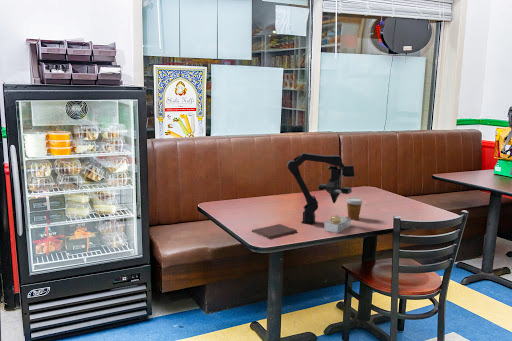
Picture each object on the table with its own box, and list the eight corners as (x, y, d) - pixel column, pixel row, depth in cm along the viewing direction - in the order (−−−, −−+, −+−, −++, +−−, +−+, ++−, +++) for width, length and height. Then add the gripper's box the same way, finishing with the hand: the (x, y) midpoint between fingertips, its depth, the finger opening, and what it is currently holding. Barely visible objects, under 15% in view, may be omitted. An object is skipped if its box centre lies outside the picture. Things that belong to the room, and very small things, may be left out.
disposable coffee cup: (343, 219, 289) (344, 200, 286) (347, 215, 297) (348, 196, 295) (359, 221, 285) (360, 202, 283) (362, 217, 293) (364, 198, 291)
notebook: (251, 232, 263) (251, 229, 262) (279, 226, 274) (279, 223, 274) (269, 240, 251) (269, 236, 251) (297, 233, 263) (297, 229, 262)
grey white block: (324, 230, 267) (324, 222, 266) (337, 222, 282) (338, 215, 281) (337, 233, 263) (337, 225, 262) (350, 225, 277) (350, 217, 277)
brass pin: (329, 228, 269) (329, 217, 268) (332, 226, 273) (333, 215, 272) (337, 230, 266) (338, 218, 265) (341, 227, 270) (342, 216, 269)
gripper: (314, 177, 275) (313, 203, 278) (344, 181, 264) (343, 208, 267) (323, 174, 284) (321, 199, 287) (352, 178, 274) (351, 204, 276)
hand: (334, 203), depth 279 cm, fingers closed
